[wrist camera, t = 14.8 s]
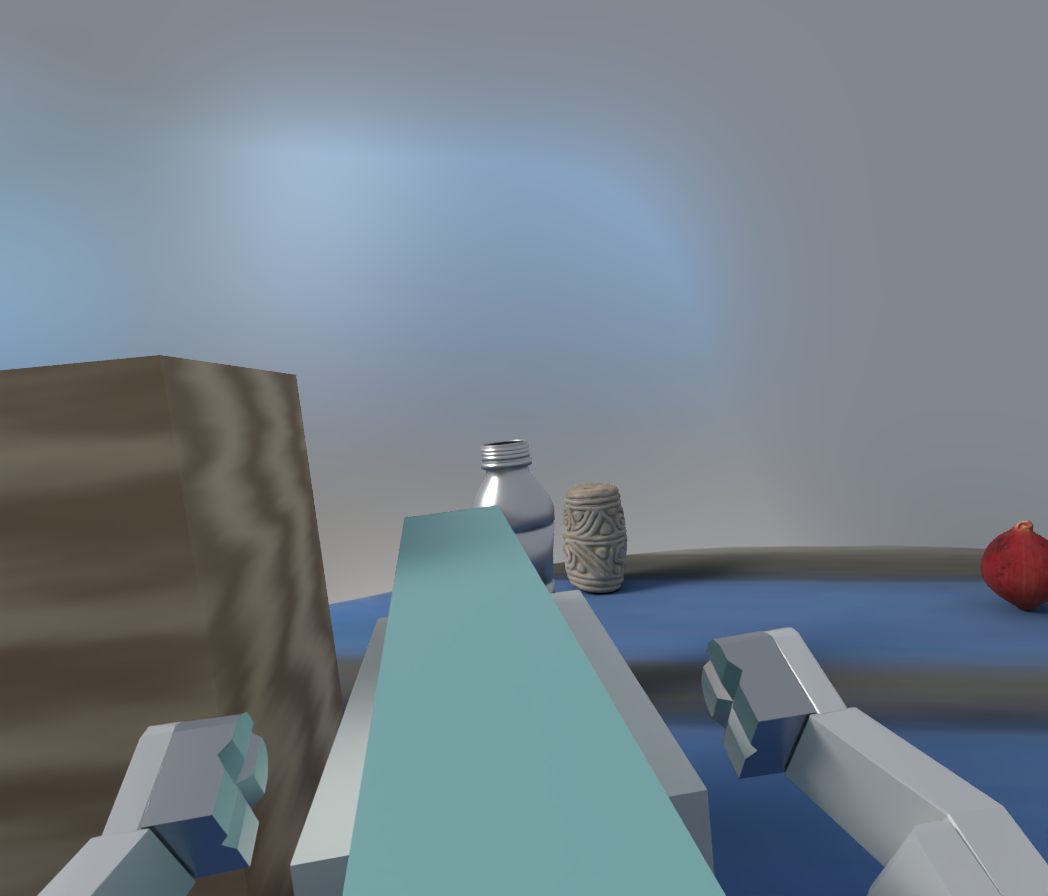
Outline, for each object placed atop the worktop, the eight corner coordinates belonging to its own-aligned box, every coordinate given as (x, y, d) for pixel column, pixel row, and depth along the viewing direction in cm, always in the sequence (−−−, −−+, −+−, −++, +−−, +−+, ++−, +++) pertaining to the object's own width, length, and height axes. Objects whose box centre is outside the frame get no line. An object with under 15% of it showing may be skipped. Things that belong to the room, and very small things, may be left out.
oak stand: (280, 1093, 21) (159, 354, 19) (-25, 1160, 20) (-195, 389, 18) (355, 795, 37) (296, 375, 35) (186, 824, 36) (112, 393, 34)
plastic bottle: (527, 667, 52) (502, 438, 50) (590, 688, 47) (565, 435, 45) (472, 701, 47) (441, 449, 45) (536, 727, 42) (504, 448, 40)
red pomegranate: (998, 622, 51) (995, 529, 50) (972, 597, 56) (968, 514, 55) (1084, 623, 49) (1081, 527, 48) (1048, 598, 54) (1045, 512, 53)
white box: (761, 1342, 15) (716, 787, 13) (380, 1450, 14) (289, 865, 12) (612, 883, 28) (583, 588, 27) (418, 921, 28) (377, 618, 26)
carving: (629, 596, 66) (618, 489, 65) (562, 597, 68) (551, 493, 67) (633, 577, 72) (624, 479, 71) (572, 578, 74) (562, 483, 73)
